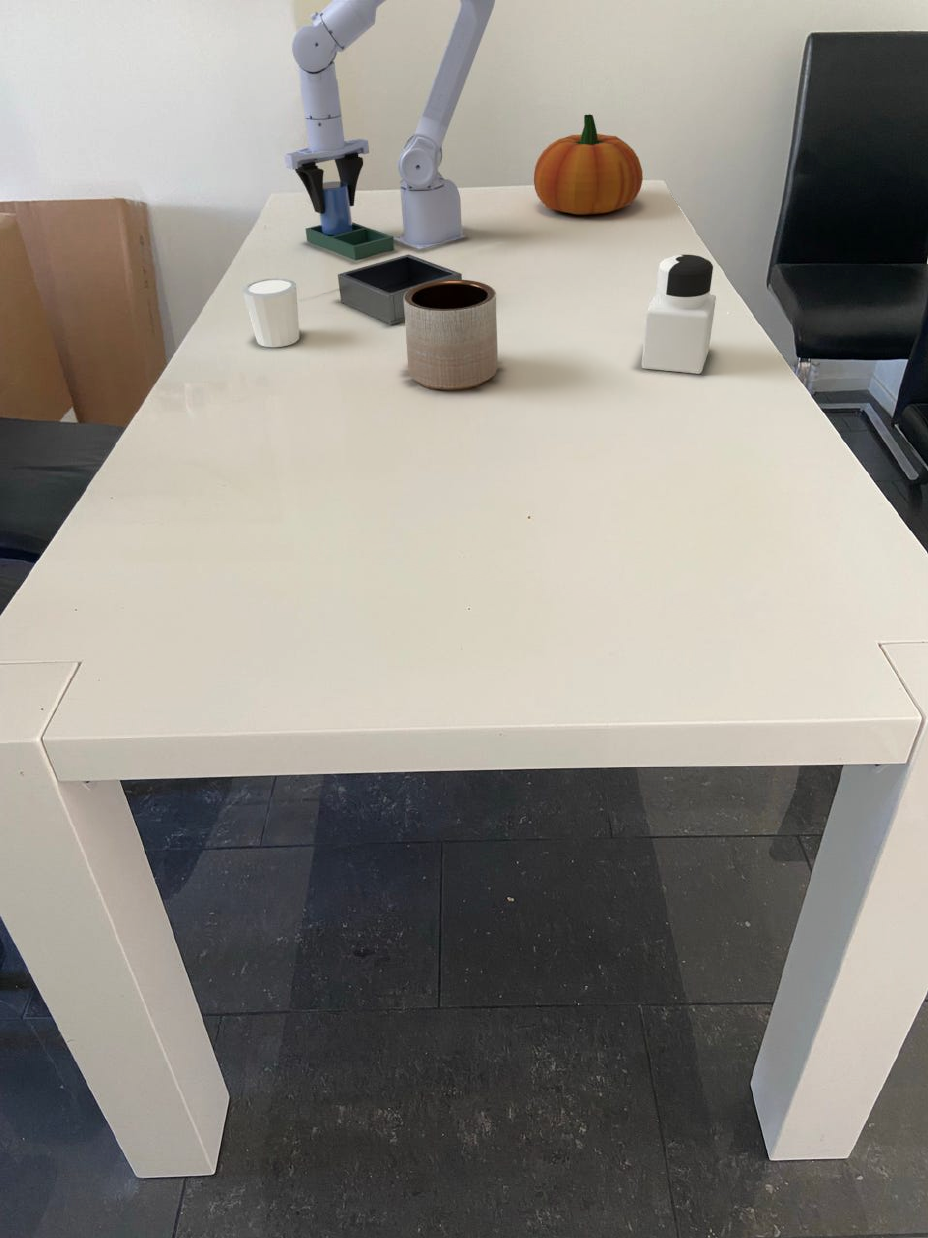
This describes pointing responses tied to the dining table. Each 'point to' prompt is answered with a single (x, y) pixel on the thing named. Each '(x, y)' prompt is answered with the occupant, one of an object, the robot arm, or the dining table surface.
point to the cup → (336, 209)
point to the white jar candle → (273, 311)
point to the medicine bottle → (680, 316)
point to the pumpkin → (588, 173)
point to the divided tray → (352, 241)
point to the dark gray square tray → (388, 285)
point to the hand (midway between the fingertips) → (334, 208)
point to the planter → (451, 333)
